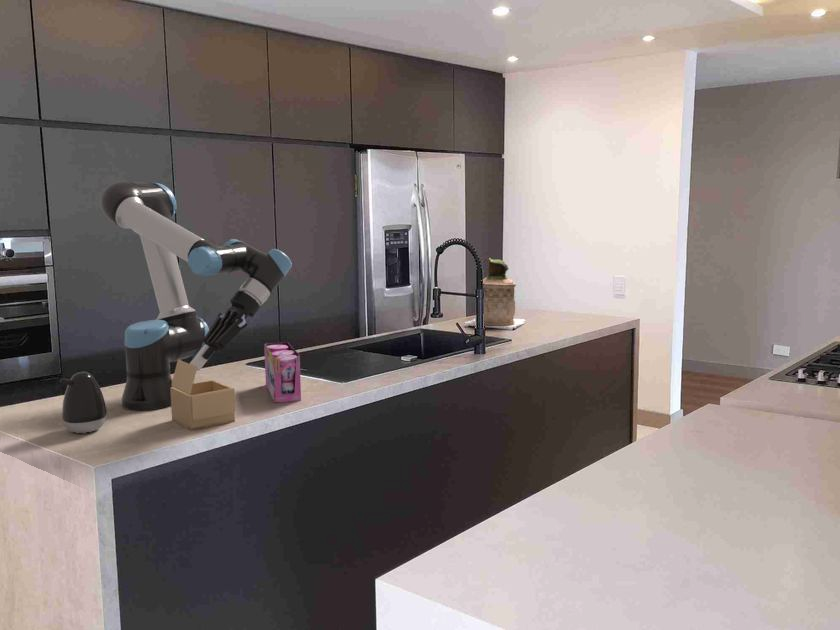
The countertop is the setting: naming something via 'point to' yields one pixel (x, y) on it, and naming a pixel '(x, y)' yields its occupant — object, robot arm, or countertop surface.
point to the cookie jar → (498, 298)
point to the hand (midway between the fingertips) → (194, 367)
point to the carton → (203, 405)
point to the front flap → (184, 376)
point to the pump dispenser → (83, 404)
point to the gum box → (282, 372)
